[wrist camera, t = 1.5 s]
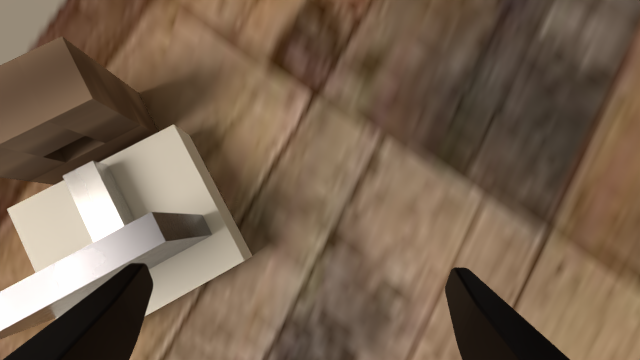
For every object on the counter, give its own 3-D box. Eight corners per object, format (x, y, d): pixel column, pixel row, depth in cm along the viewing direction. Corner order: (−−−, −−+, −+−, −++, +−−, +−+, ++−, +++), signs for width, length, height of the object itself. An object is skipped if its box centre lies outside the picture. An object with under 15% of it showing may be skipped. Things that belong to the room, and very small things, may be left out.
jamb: (160, 136, 26) (92, 98, 18) (63, 185, 25) (-53, 169, 17) (137, 92, 26) (61, 36, 18) (41, 140, 25) (-82, 103, 17)
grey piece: (212, 234, 22) (165, 241, 15) (69, 312, 21) (-52, 358, 14) (162, 136, 22) (95, 98, 15) (22, 208, 22) (-116, 202, 15)
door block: (252, 256, 25) (244, 260, 22) (103, 339, 24) (73, 356, 21) (189, 135, 26) (173, 124, 23) (43, 210, 25) (7, 209, 22)
